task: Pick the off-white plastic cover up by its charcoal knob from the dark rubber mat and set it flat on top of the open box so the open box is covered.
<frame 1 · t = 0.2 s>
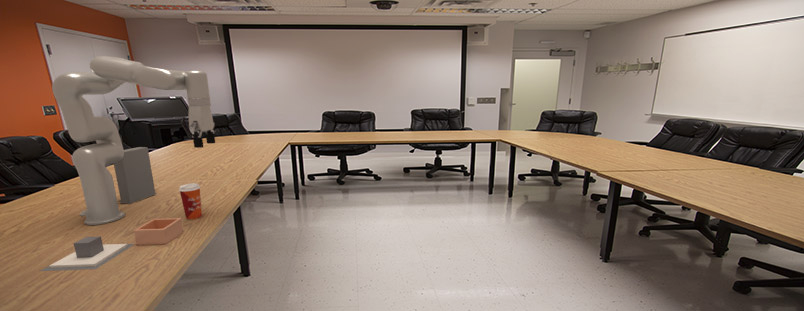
hand: (205, 145, 131), 31 cm above the table, tool pointing down, fingers open, 9 cm apart
tall grey upright block: (138, 199, 160), on the table
cover: (91, 256, 104), point 1 cm above the table, touching mat
mat: (91, 257, 104), on the table
open box: (161, 239, 117), on the table
paper cup: (194, 217, 138), on the table
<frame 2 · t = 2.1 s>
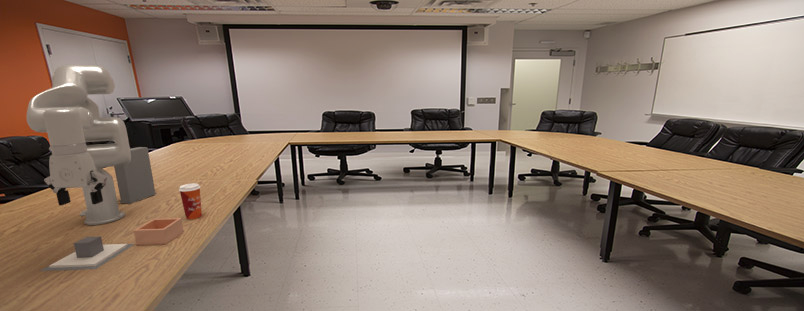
hand: (81, 203, 101), 19 cm above the table, tool pointing down, fingers open, 9 cm apart
nothing on the table moved.
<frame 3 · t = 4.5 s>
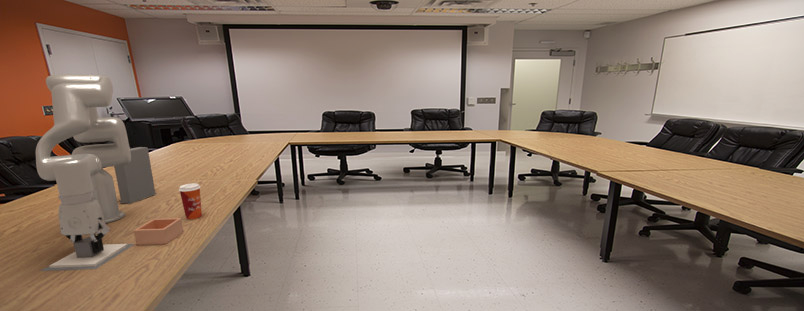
hand: (90, 251, 104), 2 cm above the table, tool pointing down, fingers closed on cover, 4 cm apart
cover: (91, 256, 104), point 1 cm above the table, touching gripper, mat
everything else where it was.
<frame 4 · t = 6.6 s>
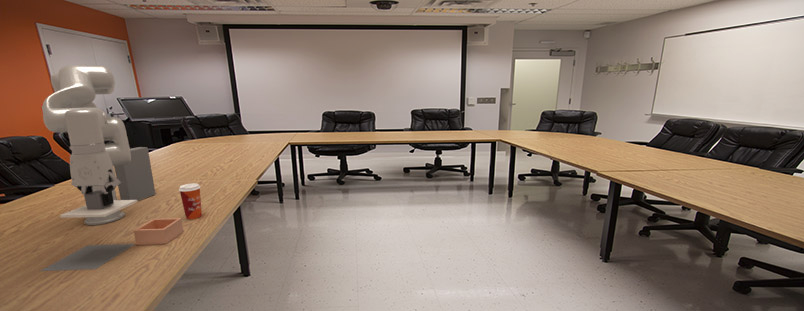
hand: (100, 204, 104), 17 cm above the table, tool pointing down, fingers closed on cover, 4 cm apart
cover: (101, 209, 104), point 15 cm above the table, touching gripper
everything else where it was.
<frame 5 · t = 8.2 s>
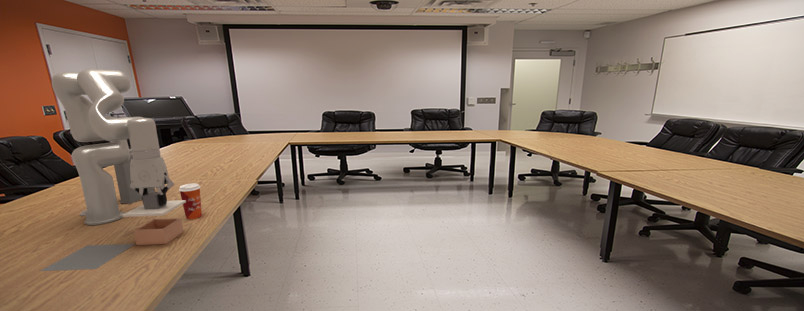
hand: (155, 204, 114), 14 cm above the table, tool pointing down, fingers closed on cover, 4 cm apart
cover: (156, 209, 114), point 12 cm above the table, touching gripper
everything else where it was.
when the fingers open (9 cm above the table, at t = 9.2 s): cover drops 1 cm, resting on open box.
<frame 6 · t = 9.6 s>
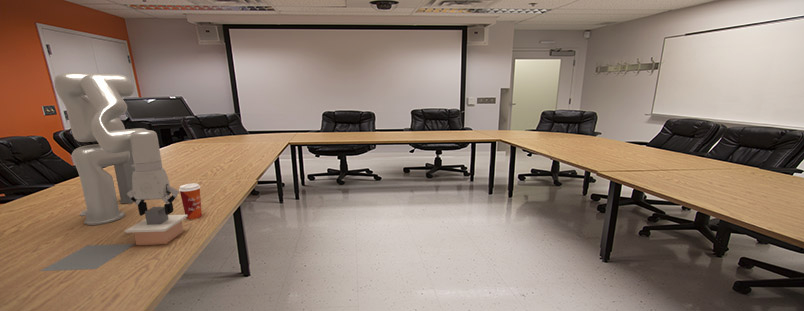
hand: (156, 213, 115), 10 cm above the table, tool pointing down, fingers open, 8 cm apart
cover: (158, 224, 116), point 6 cm above the table, touching open box
everything else where it was.
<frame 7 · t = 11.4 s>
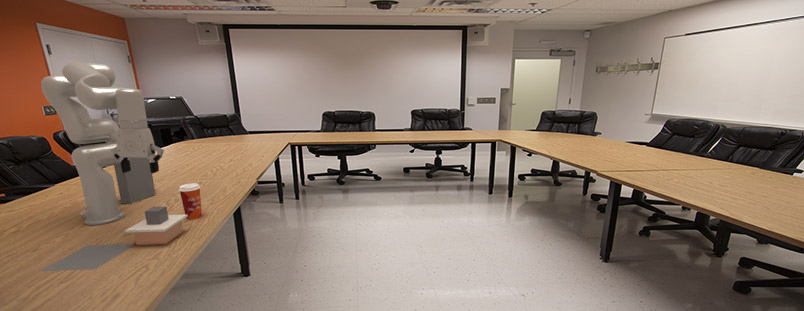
hand: (140, 172, 116), 24 cm above the table, tool pointing down, fingers open, 9 cm apart
nothing on the table moved.
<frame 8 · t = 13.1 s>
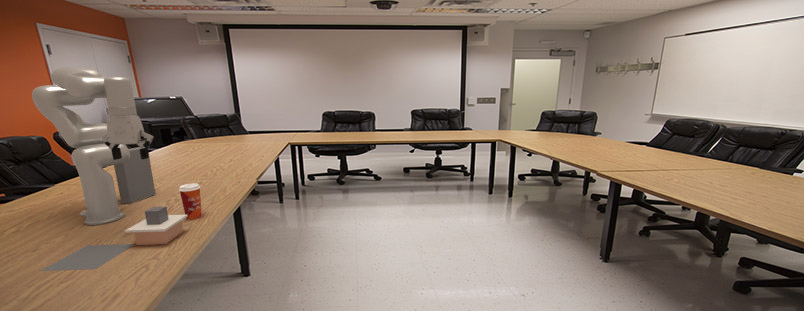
hand: (131, 158, 119), 28 cm above the table, tool pointing down, fingers open, 9 cm apart
nothing on the table moved.
at the end: cover 0.1 cm off-centre on the open box, point 6.0 cm above the open box's base; cover tilted 0°; the gripper is holding nothing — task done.
